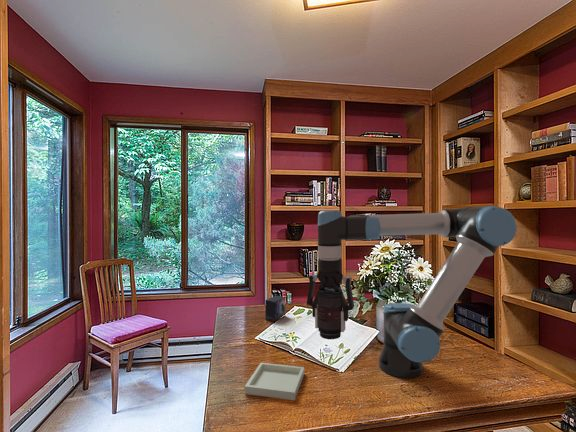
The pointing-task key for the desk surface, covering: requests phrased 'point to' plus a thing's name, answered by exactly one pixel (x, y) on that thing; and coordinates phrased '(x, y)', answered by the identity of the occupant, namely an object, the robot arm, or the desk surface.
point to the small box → (274, 308)
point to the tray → (275, 381)
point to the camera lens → (329, 313)
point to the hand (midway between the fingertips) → (330, 328)
